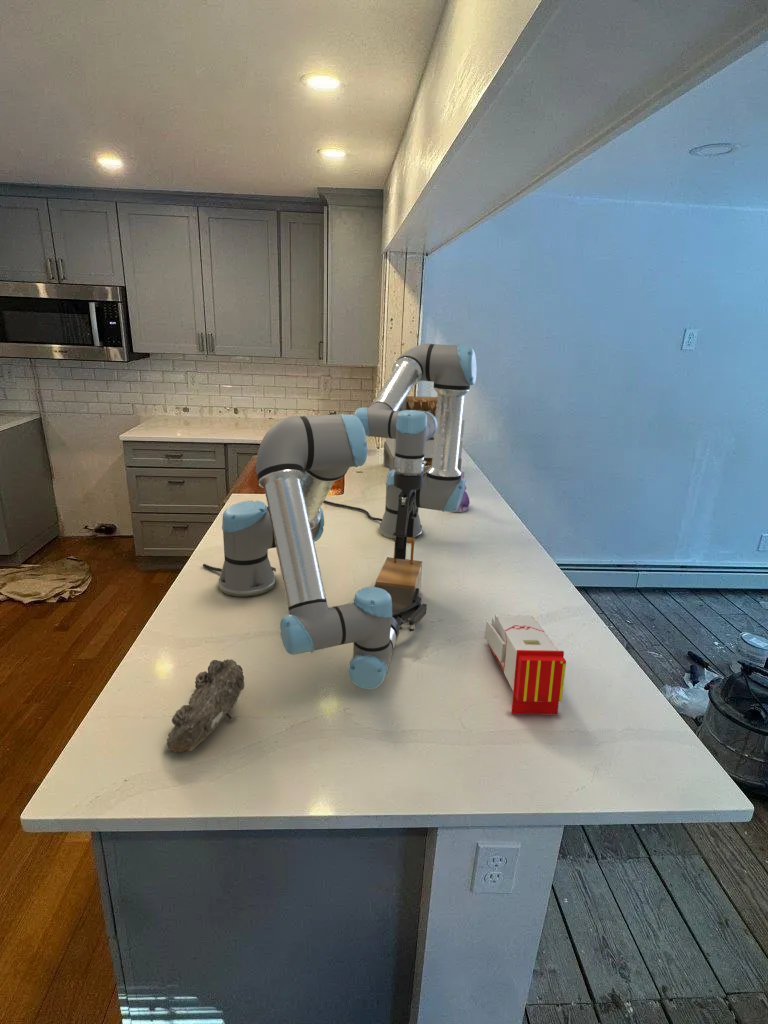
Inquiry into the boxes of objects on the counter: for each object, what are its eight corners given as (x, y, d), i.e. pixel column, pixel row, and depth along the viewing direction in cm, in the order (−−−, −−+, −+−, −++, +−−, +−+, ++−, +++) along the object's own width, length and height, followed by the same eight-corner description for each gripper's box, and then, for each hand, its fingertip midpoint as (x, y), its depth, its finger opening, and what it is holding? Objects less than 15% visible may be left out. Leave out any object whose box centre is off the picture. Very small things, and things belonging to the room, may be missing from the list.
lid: (386, 559, 158) (388, 531, 155) (422, 564, 156) (424, 535, 153) (375, 584, 143) (377, 553, 140) (414, 589, 141) (416, 558, 139)
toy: (530, 600, 137) (574, 657, 108) (525, 651, 140) (567, 720, 111) (480, 599, 137) (511, 656, 107) (477, 651, 139) (506, 719, 110)
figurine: (456, 514, 221) (459, 477, 216) (441, 506, 229) (444, 470, 224) (475, 511, 225) (479, 475, 220) (461, 503, 234) (464, 468, 229)
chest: (385, 589, 160) (386, 560, 157) (420, 593, 158) (422, 565, 155) (374, 615, 146) (375, 584, 143) (412, 621, 144) (414, 589, 141)
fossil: (192, 660, 117) (244, 628, 112) (224, 691, 120) (276, 661, 115) (142, 746, 98) (202, 712, 93) (182, 779, 101) (242, 748, 96)
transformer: (382, 463, 289) (386, 382, 275) (445, 464, 293) (451, 384, 279) (390, 482, 257) (394, 392, 243) (460, 483, 261) (468, 394, 247)
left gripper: (331, 643, 129) (354, 597, 150) (429, 657, 126) (439, 608, 146) (331, 614, 127) (355, 572, 147) (431, 628, 123) (441, 582, 144)
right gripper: (416, 486, 133) (411, 569, 141) (428, 461, 156) (423, 533, 163) (385, 483, 135) (381, 565, 142) (401, 459, 157) (397, 531, 164)
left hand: (397, 590), depth 147 cm, fingers closed on chest, 10 cm apart
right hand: (404, 548), depth 153 cm, fingers open, 12 cm apart
